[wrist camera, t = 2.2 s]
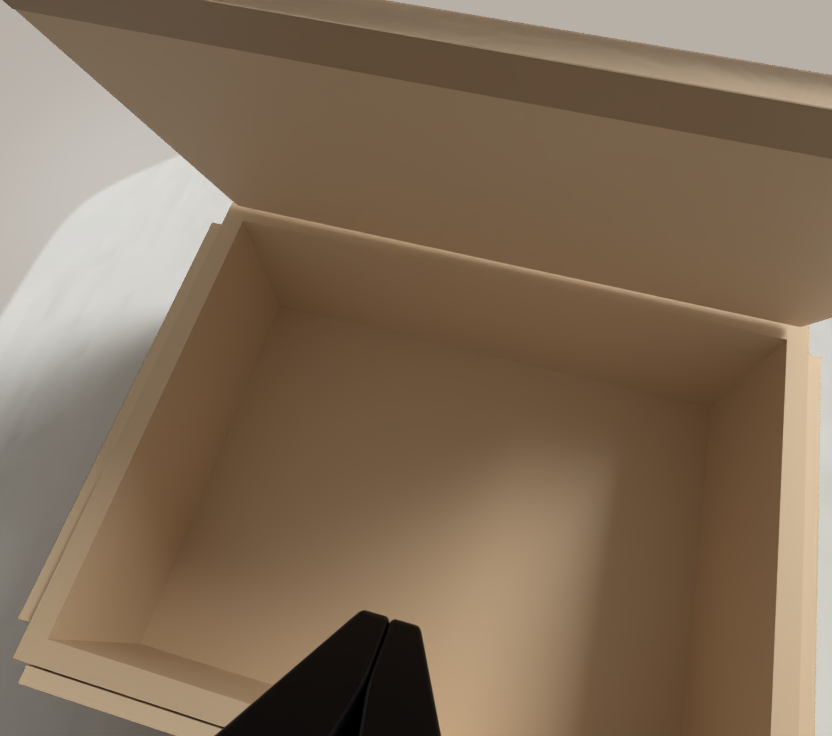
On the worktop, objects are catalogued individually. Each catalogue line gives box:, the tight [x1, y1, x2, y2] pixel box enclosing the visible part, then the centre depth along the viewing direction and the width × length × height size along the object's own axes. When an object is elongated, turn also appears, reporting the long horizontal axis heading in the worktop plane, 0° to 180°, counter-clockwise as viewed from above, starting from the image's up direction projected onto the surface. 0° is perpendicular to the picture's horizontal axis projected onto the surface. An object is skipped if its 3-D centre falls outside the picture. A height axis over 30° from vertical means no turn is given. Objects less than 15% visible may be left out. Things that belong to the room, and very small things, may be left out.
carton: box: [13, 202, 821, 736], centre depth 20 cm, size 14×19×6 cm
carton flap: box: [3, 0, 832, 327], centre depth 14 cm, size 11×17×1 cm
